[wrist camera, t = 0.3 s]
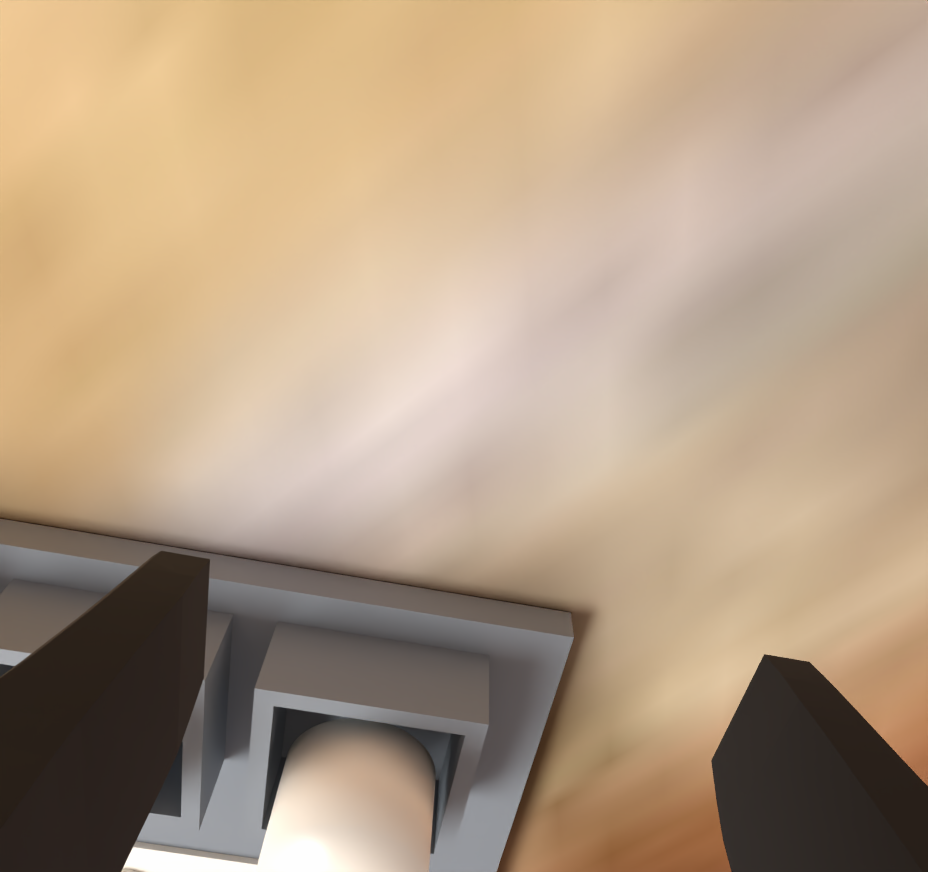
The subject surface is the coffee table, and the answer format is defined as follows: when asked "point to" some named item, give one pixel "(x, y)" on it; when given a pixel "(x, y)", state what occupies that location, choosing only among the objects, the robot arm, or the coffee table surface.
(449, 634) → the console
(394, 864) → the button
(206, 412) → the coffee table surface
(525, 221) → the coffee table surface
